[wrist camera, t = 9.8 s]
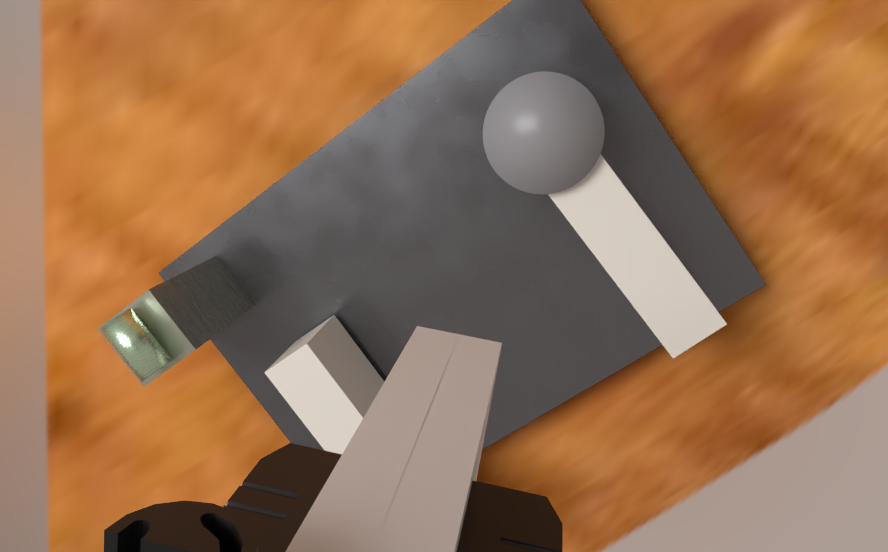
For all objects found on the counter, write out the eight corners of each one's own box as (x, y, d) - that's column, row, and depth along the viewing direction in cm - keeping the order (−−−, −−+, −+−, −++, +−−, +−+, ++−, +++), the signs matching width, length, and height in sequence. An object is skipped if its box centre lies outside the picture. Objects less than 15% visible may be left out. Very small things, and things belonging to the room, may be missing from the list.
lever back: (476, 472, 35) (465, 524, 31) (404, 513, 36) (385, 569, 32) (350, 303, 34) (321, 334, 30) (280, 351, 35) (243, 388, 31)
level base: (557, -30, 31) (558, -73, 22) (756, 275, 33) (828, 343, 24) (174, 265, 37) (59, 319, 28) (361, 507, 39) (308, 627, 30)
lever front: (471, 118, 31) (458, 123, 27) (555, 50, 30) (555, 45, 26) (639, 338, 32) (652, 376, 28) (726, 281, 31) (753, 312, 27)
